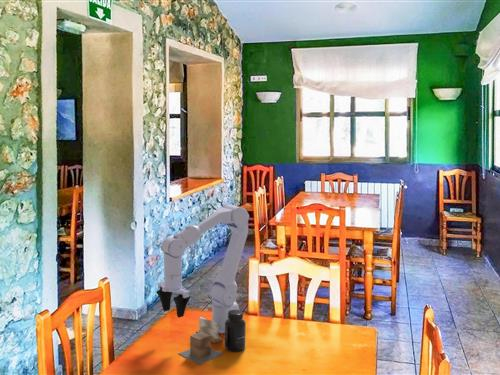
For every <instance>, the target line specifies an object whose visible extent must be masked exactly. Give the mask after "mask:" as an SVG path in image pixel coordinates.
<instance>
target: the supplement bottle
mask: <svg viewBox="0 0 500 375" xmlns="http://www.w3.org/2000/svg"><path fill="white" fill-rule="evenodd" d="M246 324H247V323H246V321H245V319H244V313H243V310H240V309H239V310H230V311H229V312H228V319H227V320H226V321H225V333H224V344H223V345H224V348H225V349H226V350H227V351H229V352H235V353H236V352H242V351H243V350H245V349H246V330H247V327H246V326H247V325H246Z"/></svg>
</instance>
